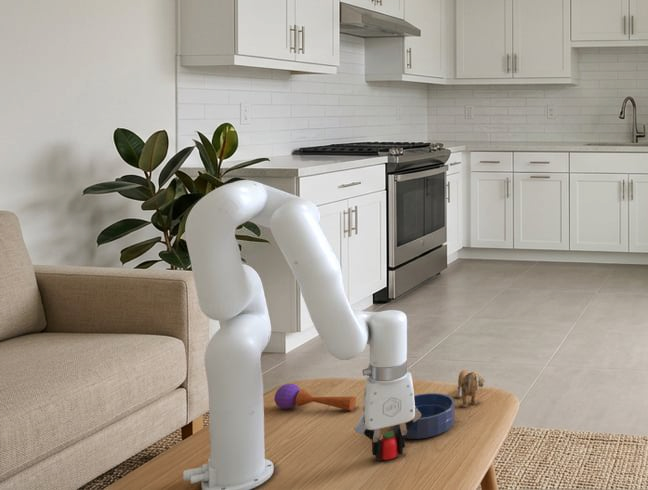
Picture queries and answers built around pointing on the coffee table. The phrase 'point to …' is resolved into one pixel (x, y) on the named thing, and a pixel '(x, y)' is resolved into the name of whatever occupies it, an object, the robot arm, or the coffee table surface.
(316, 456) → the coffee table surface
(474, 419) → the coffee table surface
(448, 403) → the bowl
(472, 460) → the coffee table surface
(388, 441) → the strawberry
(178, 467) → the coffee table surface
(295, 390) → the maraca
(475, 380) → the tan animal figure
